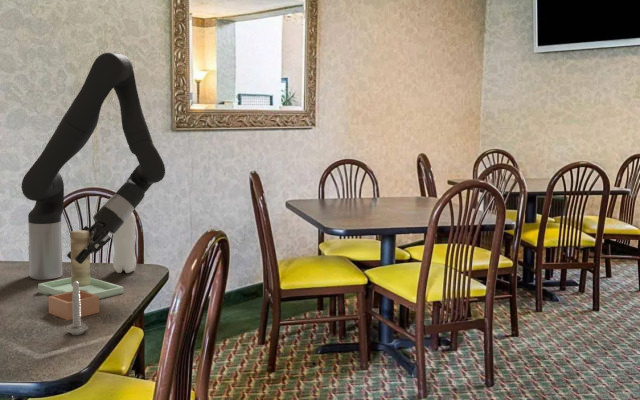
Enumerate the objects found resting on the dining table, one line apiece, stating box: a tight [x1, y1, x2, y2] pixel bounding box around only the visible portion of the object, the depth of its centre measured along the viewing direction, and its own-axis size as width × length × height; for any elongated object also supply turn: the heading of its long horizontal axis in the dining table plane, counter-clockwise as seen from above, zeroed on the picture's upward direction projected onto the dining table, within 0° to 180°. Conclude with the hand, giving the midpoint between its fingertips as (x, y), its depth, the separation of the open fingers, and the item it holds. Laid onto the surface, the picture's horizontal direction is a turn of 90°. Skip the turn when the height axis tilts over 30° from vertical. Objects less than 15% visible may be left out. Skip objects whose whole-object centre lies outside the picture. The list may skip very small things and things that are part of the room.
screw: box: [65, 281, 89, 336], centre depth 144 cm, size 13×5×5 cm
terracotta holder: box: [47, 290, 100, 321], centre depth 159 cm, size 9×9×5 cm
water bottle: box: [112, 211, 137, 274], centre depth 204 cm, size 7×7×25 cm
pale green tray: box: [37, 276, 125, 300], centre depth 178 cm, size 20×14×2 cm
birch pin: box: [69, 229, 91, 287], centre depth 177 cm, size 5×5×15 cm
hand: (73, 259), depth 176 cm, fingers closed on birch pin, 5 cm apart
